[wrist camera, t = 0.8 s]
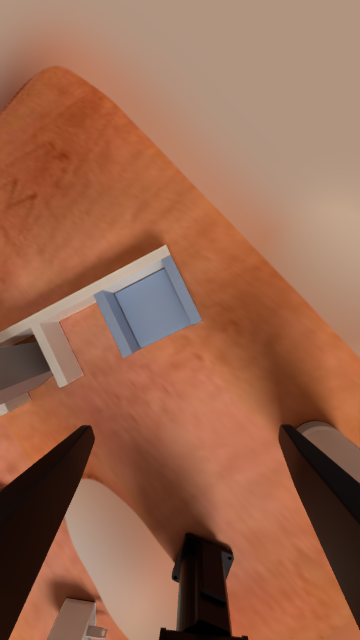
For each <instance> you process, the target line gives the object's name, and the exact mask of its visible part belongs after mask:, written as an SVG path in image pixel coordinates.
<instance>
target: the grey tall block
mask: <svg viewBox="0 0 360 640" xmlns="http://www.w3.org/2000/svg"><path fill="white" fill-rule="evenodd" d="M52 375H53V373H52V371H51V369H50V367H49V365H48V363H47V360H46V358H45V356H44V354H43V352H42V350H41V348H40V346H39V344H38V341H37V342H31V343H26V344H20V345H14V346H8V347H3V348H0V405H1V404H3V403H5V402H7V401H9V400H11V399H14V398H16V397H18V396H20V395H22V394H24V393H26V392H29V391H31V390H33V389H35V388H37V387H39V386H41V385H42V384H43V383H44V382H45V381H47V380H48V379H49V378H50V377H51V376H52Z"/></svg>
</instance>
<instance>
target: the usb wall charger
mask: <svg viewBox="0 0 360 640" xmlns="http://www.w3.org/2000/svg"><path fill="white" fill-rule="evenodd" d="M103 631H105V635H104V636H103V637H102V636H101V634H102V632H103ZM107 631H108V630H107V629H105V628H102V627H96V603H95V602H89V601H83V600H76V599H70V598H66V599H65V601H64V603H63V605H62V607H61V609H60V612H59V614H58V616H57V618H56V620H55V623H54V625H53V627H52V629H51V631H50V634H49V636H48V638H47V640H92V638H96V639H105V638H106V634H107Z"/></svg>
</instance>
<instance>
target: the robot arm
mask: <svg viewBox="0 0 360 640" xmlns="http://www.w3.org/2000/svg"><path fill="white" fill-rule="evenodd" d="M278 438H279V444H280V446H281V449H282V452H283V455H284V458H285V461H286V463H287V466H288V469H289V472H290V475H291V477H292V480H293V483H294V486H295V488H296V490H297V493H298V495H299V497H300V499H301V501H302V504H303V506H304V508H305V510H306V512H307V515H308V517H309V519H310V521H311V523H312V526H313V528H314V530H315V532H316V535H317V537H318V539H319V541H320V543H321V546H322V548H323V550H324V552H325V554H326V557H327V559H328V561H329V563H330V566H331V568H332V570H333V572H334V574H335V577H336V579H337V581H338V583H339V585H340V588H341V590H342V592H343V594H344V596H345V599H346V601H347V603H348V605H349V608H350V610H351V612H352V614H353V616H354V619H355V621H356V623H357V625H358V627H359V630H360V483H359V482H358V481H357V480H355V479H354V478H353V477H352V476H351V475H350V474H348V473H347V472H346V471H345V470H344V469H342V468H341V467H340V466H339V465H338V464H337V463H335V462H334V461H333V460H332V459H331V458H329V457H328V456H327V455H326V454H325V453H324V452H322V451H321V450H320V449H319V448H318V447H317V446H315V445H314V444H313V443H312V442H311V441H309V440H308V439H307V438H306V437H305V436H304V435H302V434H301V433H300V432H299V431H298V430H296V429H295V428H294V427H293V426H292V425H290V424H281V425H280V429H279V437H278ZM94 441H95V436H94V433H93V430H92V427H91V426H90V425H82V426H81V427H79V428H78V429H77V430H76V431H74V432H73V433H72V434H71V435H69V436H68V437H67V438H66V439H64V440H63V441H62V442H61V443H59V444H58V445H57V446H56V447H54V448H53V449H52V450H51V451H49V452H48V453H47V454H46V455H44V456H43V457H42V458H41V459H39V460H38V461H37V462H36V463H34V464H33V465H32V466H31V467H29V468H28V469H27V470H26V471H24V472H23V473H22V474H21V475H19V476H18V477H17V478H16V479H14V480H13V481H12V482H11V483H9V484H8V485H7V486H6V487H4V488H3V489H2V490H1V491H0V640H8V639H9V637H10V635H11V633H12V631H13V628H14V626H15V624H16V622H17V620H18V617H19V615H20V613H21V611H22V609H23V606H24V604H25V602H26V600H27V598H28V595H29V593H30V591H31V589H32V586H33V584H34V582H35V580H36V578H37V575H38V573H39V571H40V569H41V567H42V564H43V562H44V560H45V558H46V556H47V553H48V551H49V549H50V547H51V544H52V542H53V540H54V538H55V536H56V533H57V531H58V529H59V527H60V525H61V522H62V520H63V518H64V516H65V514H66V511H67V509H68V507H69V505H70V503H71V500H72V498H73V496H74V494H75V491H76V489H77V487H78V485H79V482H80V480H81V478H82V475H83V472H84V470H85V467H86V464H87V461H88V458H89V456H90V453H91V450H92V447H93V445H94ZM233 560H234V557H233V552H232V551H230V550H228V549H226V548H223V547H221V546H218V545H216V544H214V543H211V542H209V541H206V540H204V539H201V538H199V537H197V536H194V535H192V534H189V533H187V534H186V535H185V537H184V540H183V543H182V545H181V548H180V551H179V554H178V557H177V560H176V562H175V566H174V568H173V571H172V579H173V580H174V581H176V582H178V583H179V595H178V612H177V629H176V631H173V630H166V628H161V630H160V637H159V640H248V636H243V635H242V637H234V636H232V629H231V620H230V611H229V603H228V594H227V586H226V579H227V576H228V573H229V571H230V568H231V565H232V563H233Z"/></svg>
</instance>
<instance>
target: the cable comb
mask: <svg viewBox="0 0 360 640" xmlns="http://www.w3.org/2000/svg"><path fill="white" fill-rule="evenodd" d="M164 267H165V268H164ZM162 268H164V269H162ZM160 269H162V270H160ZM165 269H166V270H165ZM158 270H160V271H158ZM157 271H158V272H157ZM155 272H156V273H155ZM153 273H154V274H153ZM151 274H153V275H151ZM149 275H151V276H149ZM147 276H149V277H147ZM145 277H147V278H145ZM143 278H145V279H143ZM141 279H143V280H141ZM139 280H141V281H139ZM137 281H139V282H137ZM135 282H137V283H135ZM133 283H135V284H133ZM131 284H133V285H131ZM129 285H131V286H129ZM127 286H129V287H127ZM173 286H174V287H173ZM125 287H127V288H125ZM123 288H125V289H123ZM174 288H175V289H174ZM122 289H123V290H122ZM120 290H121V291H120ZM175 290H176V291H175ZM118 291H119V292H118ZM116 292H117V293H116ZM176 292H177V293H176ZM114 293H116V294H114ZM115 295H116V296H115ZM116 297H117V298H116ZM117 299H118V300H117ZM118 301H119V302H118ZM96 302H97V304H98V306H99V308H100V310H101V312H102V314H103V317H104V319H105V321H106V323H107V325H108V327H109V329H110V331H111V333H112V335H113V338H114V340H115V342H116V344H117V346H118V348H119V350H120V352H121V354H122V357H123V358H124V357H127V356H129V355H131V354H133V353H134V352H136V351H137V350H139V349H141V348H143V347H145V346H147V345H149V344H151V343H154V342H156V341H158V340H160V339H162V338H164V337H166V336H168V335H170V334H173V333H175V332H177V331H179V330H181V329H183V328H185V327H187V326H190V325H194V324H197V323H199V322H201V321H202V319H201V317H200V315H199V313H198V311H197V309H196V307H195V305H194V302H193V300H192V298H191V296H190V294H189V292H188V290H187V288H186V286H185V284H184V282H183V279H182V277H181V275H180V273H179V271H178V269H177V267H176V265H175V263H174V261H173V259H172V256H171V254H170V252H169V250H168V248H167V246H166V245H164V246H162V247H160V248H158V249H157V250H155V251H153V252H151V253H149V254H147V255H145V256H143V257H141V258H139V259H138V260H136V261H134V262H132V263H130V264H128V265H126V266H124V267H122V268H121V269H119V270H117V271H115V272H113V273H111V274H109V275H107V276H105V277H103V278H102V279H100V280H98V281H96V282H94V283H92V284H90V285H88V286H86V287H84V288H83V289H81V290H79V291H77V292H75V293H73V294H71V295H69V296H67V297H66V298H64V299H62V300H60V301H58V302H56V303H54V304H52V305H50V306H48V307H47V308H45V309H43V310H41V311H39V312H37V313H35V314H33V315H31V316H29V317H28V318H26V319H24V320H22V321H20V322H18V323H16V324H14V325H12V326H10V327H9V328H7V329H5V330H3V331H1V332H0V348H3V347H8V346H13V345H14V344H16V343H18V342H20V341H22V340H24V339H26V338H28V337H30V336H32V335H35V337H36V339H37V341H38V344H39V346H40V348H41V350H42V352H43V354H44V356H45V358H46V360H47V363H48V365H49V367H50V369H51V371H52V373H53V375H54V377H55V379H56V382H57V384H58V386H59V388H61V387H63V386H65V385H67V384H69V383H71V382H73V381H75V380H76V379H78V378H80V377H82V376H84V374H83V372H82V370H81V367H80V365H79V363H78V361H77V359H76V357H75V355H74V353H73V351H72V348H71V346H70V344H69V342H68V340H67V338H66V336H65V334H64V332H63V330H62V327H61V325H60V323H59V321H61V320H63V319H65V318H67V317H69V316H71V315H73V314H75V313H77V312H79V311H81V310H83V309H85V308H86V307H88V306H90V305H92V304H94V303H96ZM119 303H120V304H119ZM184 309H185V310H184ZM185 311H186V312H185ZM186 313H187V314H186ZM124 314H125V315H124ZM187 315H188V316H187ZM125 316H126V317H125ZM126 318H127V319H126ZM127 320H128V321H127ZM128 322H129V323H128ZM129 324H130V325H129ZM134 335H135V336H134ZM135 337H136V338H135ZM136 339H137V340H136ZM137 341H138V342H137ZM138 343H139V344H138ZM139 345H140V346H139ZM29 401H31V398H30V396H29V394H28V392H26V393H24V394H22V395H20V396H18V397H16V398H14V399H11V400H9V401H7V402H5V403H3V404H1V405H0V415H4V414H6V413H8V412H10V411H12V410H14V409H15V408H17V407H19V406H21V405H23V404H25V403H27V402H29Z"/></svg>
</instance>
